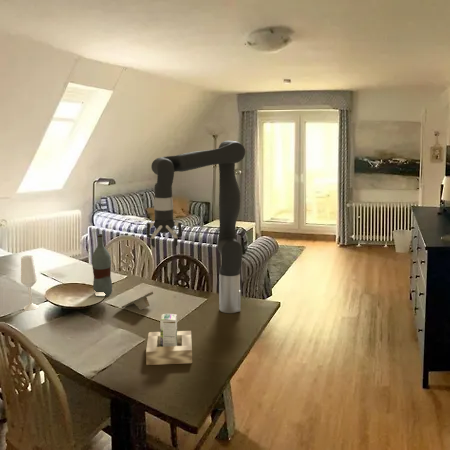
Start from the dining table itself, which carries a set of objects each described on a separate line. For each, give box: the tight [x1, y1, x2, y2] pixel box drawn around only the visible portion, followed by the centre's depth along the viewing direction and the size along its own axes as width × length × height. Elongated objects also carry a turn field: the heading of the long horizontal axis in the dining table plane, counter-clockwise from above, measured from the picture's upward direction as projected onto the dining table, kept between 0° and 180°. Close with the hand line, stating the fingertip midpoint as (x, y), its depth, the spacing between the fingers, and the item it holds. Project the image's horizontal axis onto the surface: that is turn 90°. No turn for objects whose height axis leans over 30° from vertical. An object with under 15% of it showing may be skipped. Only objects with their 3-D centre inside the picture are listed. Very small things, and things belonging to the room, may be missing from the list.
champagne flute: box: [20, 255, 40, 311], centre depth 221 cm, size 7×7×24 cm
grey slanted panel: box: [114, 290, 154, 311], centre depth 221 cm, size 16×9×15 cm
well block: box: [145, 330, 193, 366], centre depth 180 cm, size 16×16×5 cm
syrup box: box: [159, 313, 178, 347], centre depth 179 cm, size 6×6×14 cm
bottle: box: [91, 233, 113, 297], centre depth 237 cm, size 9×9×30 cm
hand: (164, 247), depth 200 cm, fingers open, 8 cm apart
